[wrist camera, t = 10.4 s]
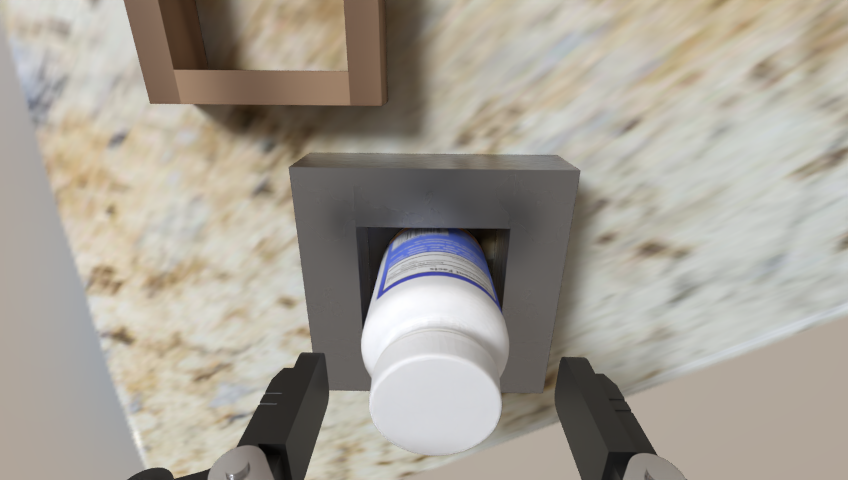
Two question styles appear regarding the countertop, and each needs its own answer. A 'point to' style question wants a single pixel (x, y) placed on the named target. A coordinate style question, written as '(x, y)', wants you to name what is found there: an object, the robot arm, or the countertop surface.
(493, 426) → the pill bottle
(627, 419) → the robot arm
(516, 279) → the steel block
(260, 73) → the walnut stand
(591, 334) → the countertop surface
